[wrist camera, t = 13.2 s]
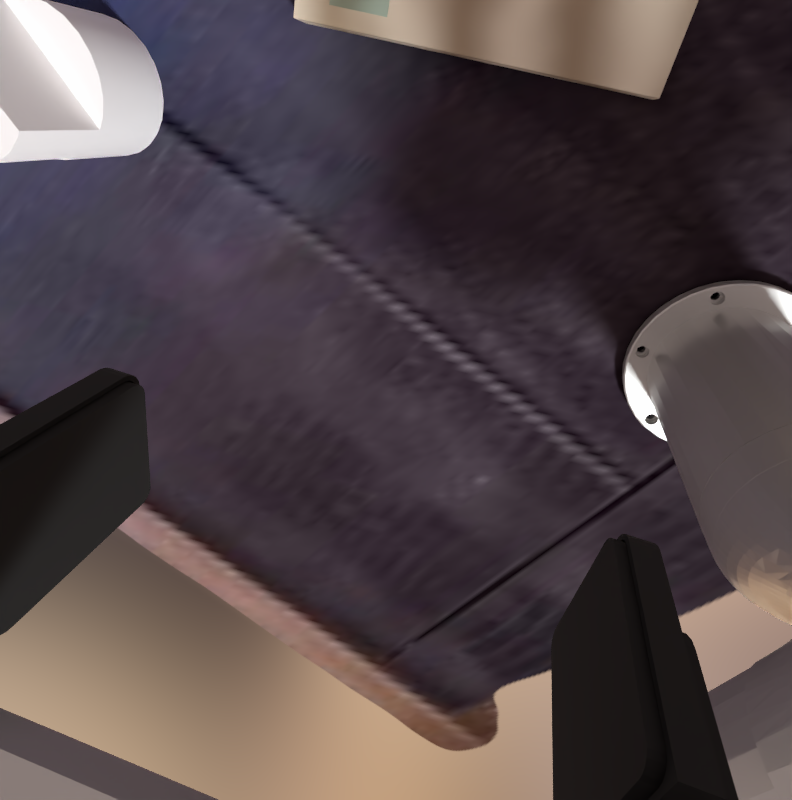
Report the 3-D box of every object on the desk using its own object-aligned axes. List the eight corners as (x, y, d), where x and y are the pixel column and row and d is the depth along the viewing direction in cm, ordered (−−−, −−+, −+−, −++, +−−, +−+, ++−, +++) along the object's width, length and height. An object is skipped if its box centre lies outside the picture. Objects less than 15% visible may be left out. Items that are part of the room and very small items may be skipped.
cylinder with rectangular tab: (186, 107, 37) (50, 100, 27) (116, 179, 41) (-26, 197, 31) (100, -20, 35) (-85, -80, 25) (34, 70, 39) (-149, 50, 29)
